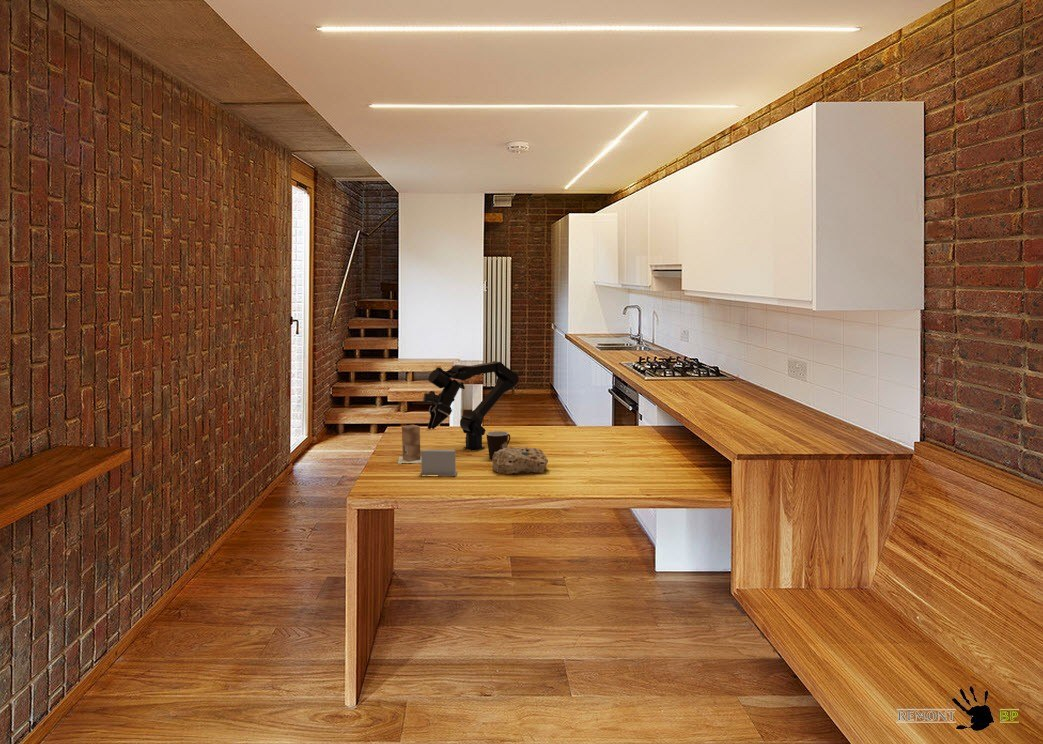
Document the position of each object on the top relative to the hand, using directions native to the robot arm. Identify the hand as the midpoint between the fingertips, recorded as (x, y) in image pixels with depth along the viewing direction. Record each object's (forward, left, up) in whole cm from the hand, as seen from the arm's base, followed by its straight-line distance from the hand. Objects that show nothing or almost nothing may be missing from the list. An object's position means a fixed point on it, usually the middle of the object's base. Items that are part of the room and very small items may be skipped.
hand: (430, 428), depth 296 cm
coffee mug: (-23, -16, -11) cm, 30 cm away
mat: (+1, +9, -11) cm, 14 cm away
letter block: (+1, +9, -11) cm, 14 cm away
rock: (-41, -8, -12) cm, 43 cm away
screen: (-22, +16, -11) cm, 30 cm away
